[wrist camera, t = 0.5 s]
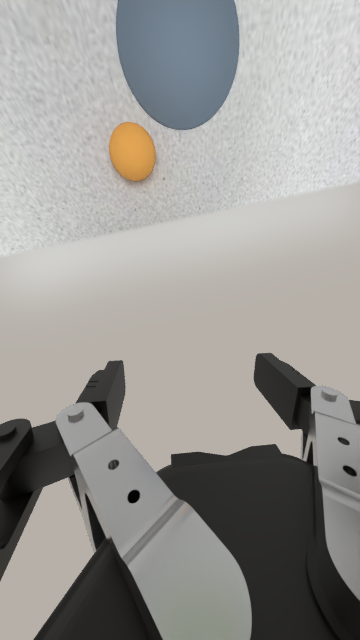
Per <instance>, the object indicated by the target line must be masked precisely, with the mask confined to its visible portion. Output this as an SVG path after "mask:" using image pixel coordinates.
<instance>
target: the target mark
mask: <svg viewBox="0 0 360 640" xmlns="http://www.w3.org/2000/svg"><path fill="white" fill-rule="evenodd" d="M116 33H117V44H118V51H119V56H120V61H121V65H122V68H123V72H124V75H125V77H126V80H127V82H128V85H129V87H130V89H131V91H132V93H133V95H134V96H135V98H136V99H137V101H138V103H139V104H140V105H141V106H142V108H143V109H144V110H145V111H146V112H147V113H148V114H149V115H150V116H151V117H152V118H153V119H155V120H156V121H157V122H159V123H161V124H162V125H164V126H167V127H170V128H173V129H178V130H186V129H192V128H195V127H198V126H200V125H202V124H203V123H205V122H206V121H208V120H209V119H210V118H211V117H212V116H213V115H214V114H215V113H216V112H217V111H218V110H219V108H220V107H221V106H222V104H223V102H224V101H225V99H226V97H227V95H228V93H229V91H230V89H231V86H232V83H233V80H234V77H235V73H236V68H237V62H238V55H239V25H238V17H237V11H236V6H235V3H234V0H118V6H117V17H116Z"/></svg>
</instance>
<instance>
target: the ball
mask: <svg viewBox="0 0 360 640" xmlns="http://www.w3.org/2000/svg"><path fill="white" fill-rule="evenodd" d="M109 152H110V157H111V160H112V163H113V165H114V167H115V168H116V170H117V171H118V172H119V173H120V174H121V175H122V176H123V177H125V178H126V179H128V180H131V181H140V180H143V179H145V178H146V177H147V176H148V175H149V174H150V173H151V172H152V170H153V167H154V164H155V156H156V155H155V147H154V144H153V141H152V139H151V137H150V135H149V134H148V132H147V131H146V130H145V129H144V128H143V127H141V126H140V125H138V124H136V123H132V122H126V123H122V124H120V125H119V126H117V127H116V128H115V130H114V131H113V133H112V135H111V138H110V143H109Z"/></svg>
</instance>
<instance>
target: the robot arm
mask: <svg viewBox="0 0 360 640" xmlns="http://www.w3.org/2000/svg"><path fill="white" fill-rule="evenodd" d="M124 377H125V376H124V365H123V361H121V360H120V361H109V362H108V363H107V366H106V368H105V369H104V370H99V371H97V372H96V373H95V374H93V375H92V377H91V378H90V380H89V382H88V383H87V385H86V387H85V388H84V390H83V392H82V393H81V395H80V397H79V398H78V400H77V402H76V403H75V404H73V405H70V406H68V407H67V408H65V409H63V410H62V411H61V412H60V413H59V414H58V415H57V417H56V420H55V421H53V422H50V423H47V424H43V425H40V426H36V427H33V428H32V427H31V424H30V421H29V420H27V419H15V420H11V421H8V422H5V423H3V424H1V425H0V581H1V578H2V576H3V574H4V572H5V570H6V567H7V565H8V563H9V561H10V559H11V557H12V554H13V552H14V550H15V548H16V546H17V543H18V541H19V539H20V537H21V535H22V532H23V530H24V528H25V526H26V524H27V522H28V519H29V517H30V515H31V513H32V511H33V508H34V506H35V504H36V502H37V500H38V497H39V495H40V493H41V491H42V489H43V487H45V486H47V485H50V484H52V483H54V482H57V481H60V480H62V479H65V478H67V477H68V480H69V483H70V485H71V488H72V490H73V493H74V496H75V498H76V501H77V504H78V506H79V509H80V511H81V514H82V517H83V519H84V522H85V526H86V530H87V533H88V536H89V540H90V542H91V546H92V548H93V551H94V555H93V556H92V558H91V559H90V560H89V562H88V563H87V565H86V566H85V568H84V569H83V570H82V572H81V573H80V575H79V576H78V577H77V579H76V580H75V582H74V583H73V584H72V586H71V587H70V589H69V590H68V591H67V593H66V594H65V596H64V597H63V599H62V600H61V602H60V603H59V604H58V606H57V607H56V609H55V610H54V611H53V613H52V614H51V616H50V617H49V619H48V620H47V621H46V623H45V624H44V625H43V627H42V628H41V630H40V631H39V632H38V634H37V635H36V637H35V638H34V640H360V401H353V400H348V398H347V397H346V396H345V395H344V394H343V393H341V392H340V391H338V390H335V389H333V388H330V387H326V386H316V385H315V384H313V383H312V382H311V381H309V380H308V379H307V378H306V377H304V376H303V375H302V374H300V373H299V372H298V371H297V370H295V369H294V368H293V367H292V366H290V365H289V364H287V363H285V362H283V361H280V360H279V359H278V358H277V357H275V356H274V355H273V354H272V353H261V354H257V356H256V362H255V371H254V382H255V385H256V387H257V388H258V390H259V391H260V392H261V393H262V395H263V396H264V397H265V398H266V400H267V401H268V402H269V404H271V406H272V407H273V409H274V410H275V411H276V412H277V413H278V415H279V416H280V417H281V419H282V420H283V421H284V422H285V424H286V425H287V426H288V427H289V429H290V430H294V429H302V436H301V459H299V458H297V457H294V456H290V455H286V454H282V453H281V452H280V450H279V449H278V447H277V446H276V444H272V445H261V446H251V447H248V448H246V449H243V450H241V451H238V452H236V453H233V454H231V455H228V456H224V455H217V454H210V453H203V452H192V453H181V454H172V455H171V465H169V466H166V467H164V468H162V469H161V470H159V471H158V472H155V471H154V470H153V469H152V467H151V466H150V465H149V464H148V462H147V461H146V460H145V459H144V458H143V456H142V455H141V454H140V453H139V451H138V450H137V449H136V448H135V446H134V445H133V444H132V443H131V442H130V440H129V439H128V438H127V437H126V436H125V434H124V433H123V432H122V431H121V429H119V428H117V424H118V420H119V416H120V412H121V408H122V404H123V400H124V396H125V378H124Z"/></svg>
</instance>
